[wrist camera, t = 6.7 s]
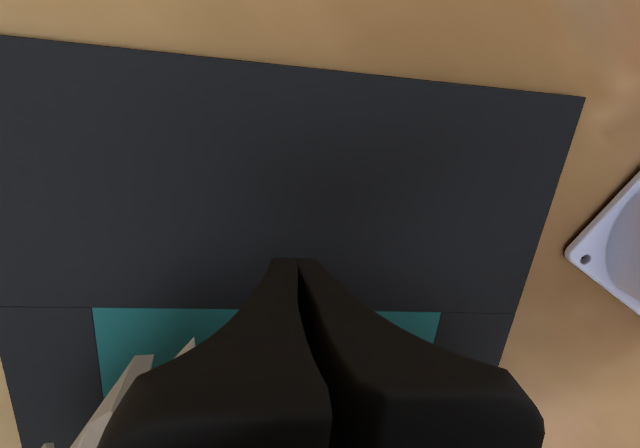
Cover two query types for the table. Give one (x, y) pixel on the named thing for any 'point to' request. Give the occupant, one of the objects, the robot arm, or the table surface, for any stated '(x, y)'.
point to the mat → (248, 206)
